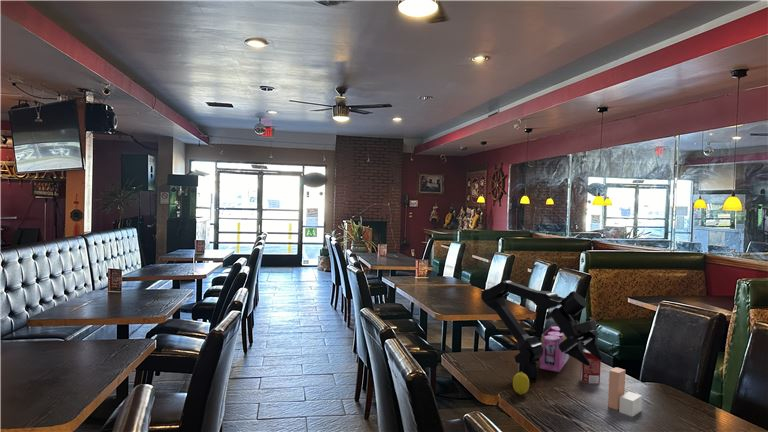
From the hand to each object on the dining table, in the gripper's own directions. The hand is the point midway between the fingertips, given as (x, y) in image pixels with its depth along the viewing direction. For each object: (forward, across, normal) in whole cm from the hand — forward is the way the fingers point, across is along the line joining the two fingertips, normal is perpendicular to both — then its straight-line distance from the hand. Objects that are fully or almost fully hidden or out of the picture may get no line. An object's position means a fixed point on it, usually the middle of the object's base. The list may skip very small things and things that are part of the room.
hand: (595, 362), depth 159 cm
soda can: (+3, +15, +16) cm, 22 cm away
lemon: (-3, -16, +22) cm, 28 cm away
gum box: (-11, +26, +29) cm, 40 cm away
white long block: (+13, 0, +6) cm, 14 cm away
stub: (+14, 0, +4) cm, 14 cm away
